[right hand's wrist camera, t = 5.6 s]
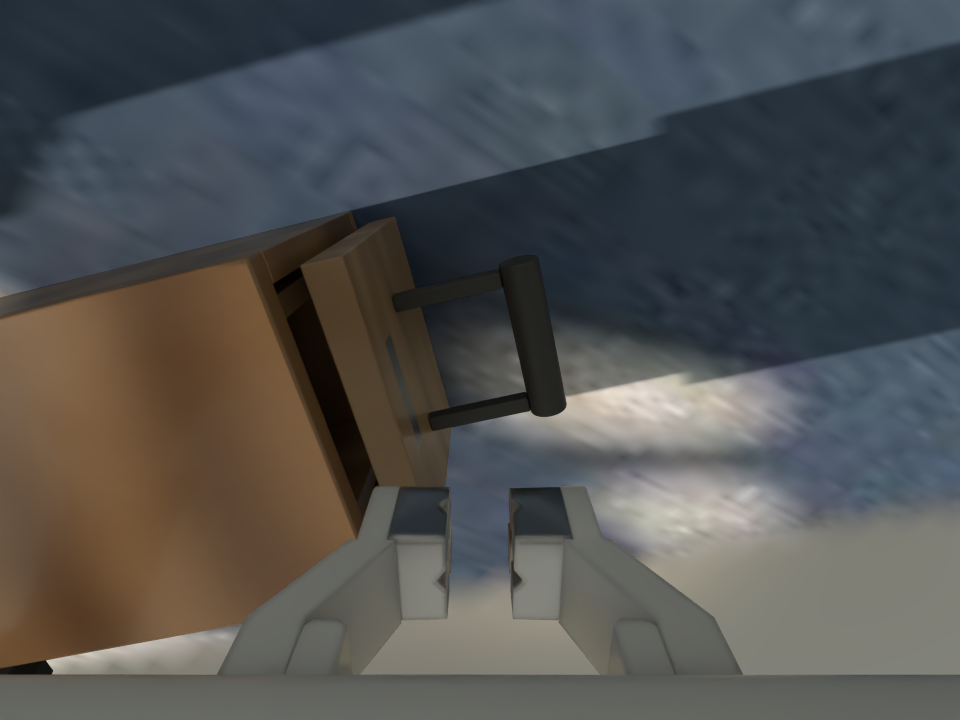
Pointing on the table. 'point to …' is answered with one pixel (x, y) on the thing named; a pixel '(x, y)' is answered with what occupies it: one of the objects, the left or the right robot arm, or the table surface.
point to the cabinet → (161, 449)
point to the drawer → (403, 355)
